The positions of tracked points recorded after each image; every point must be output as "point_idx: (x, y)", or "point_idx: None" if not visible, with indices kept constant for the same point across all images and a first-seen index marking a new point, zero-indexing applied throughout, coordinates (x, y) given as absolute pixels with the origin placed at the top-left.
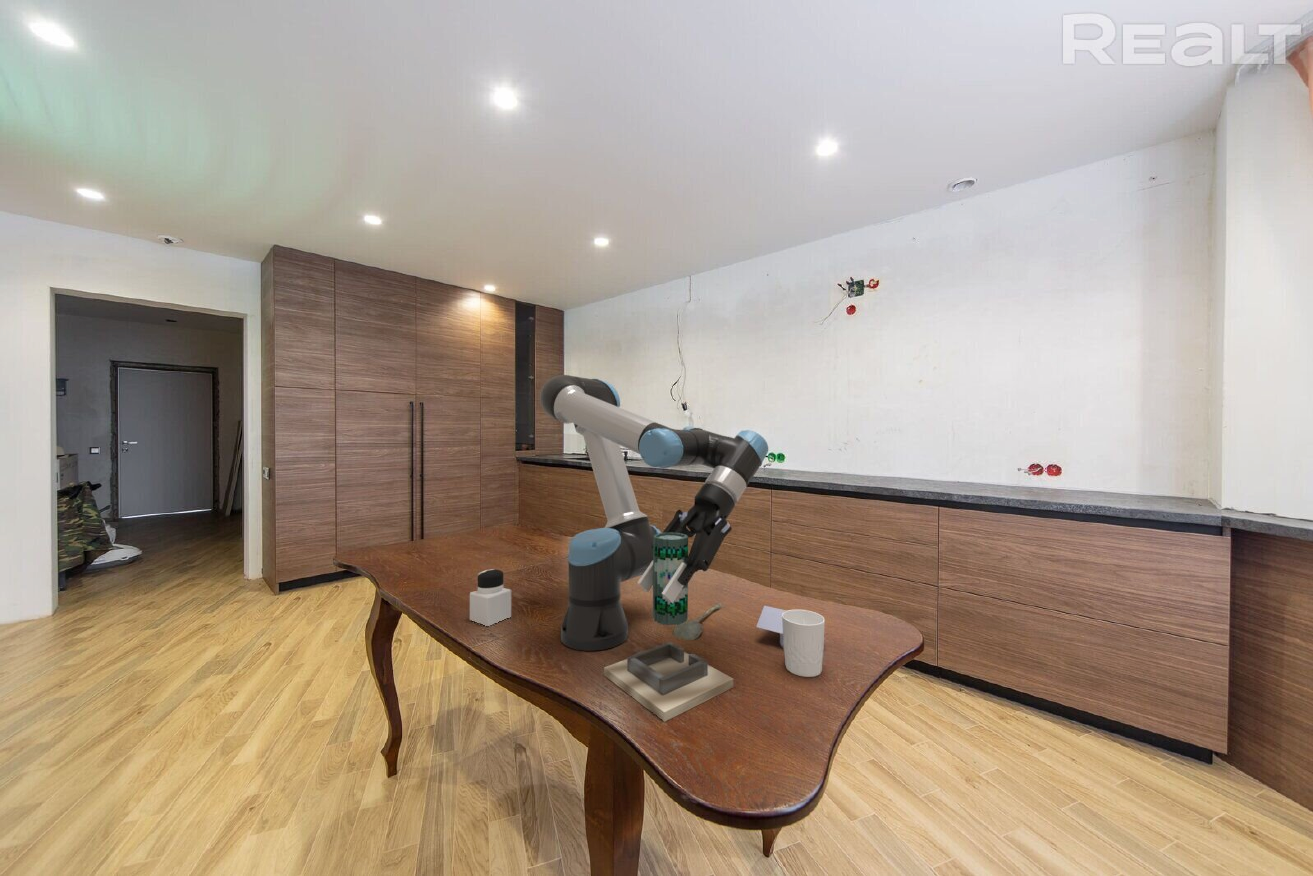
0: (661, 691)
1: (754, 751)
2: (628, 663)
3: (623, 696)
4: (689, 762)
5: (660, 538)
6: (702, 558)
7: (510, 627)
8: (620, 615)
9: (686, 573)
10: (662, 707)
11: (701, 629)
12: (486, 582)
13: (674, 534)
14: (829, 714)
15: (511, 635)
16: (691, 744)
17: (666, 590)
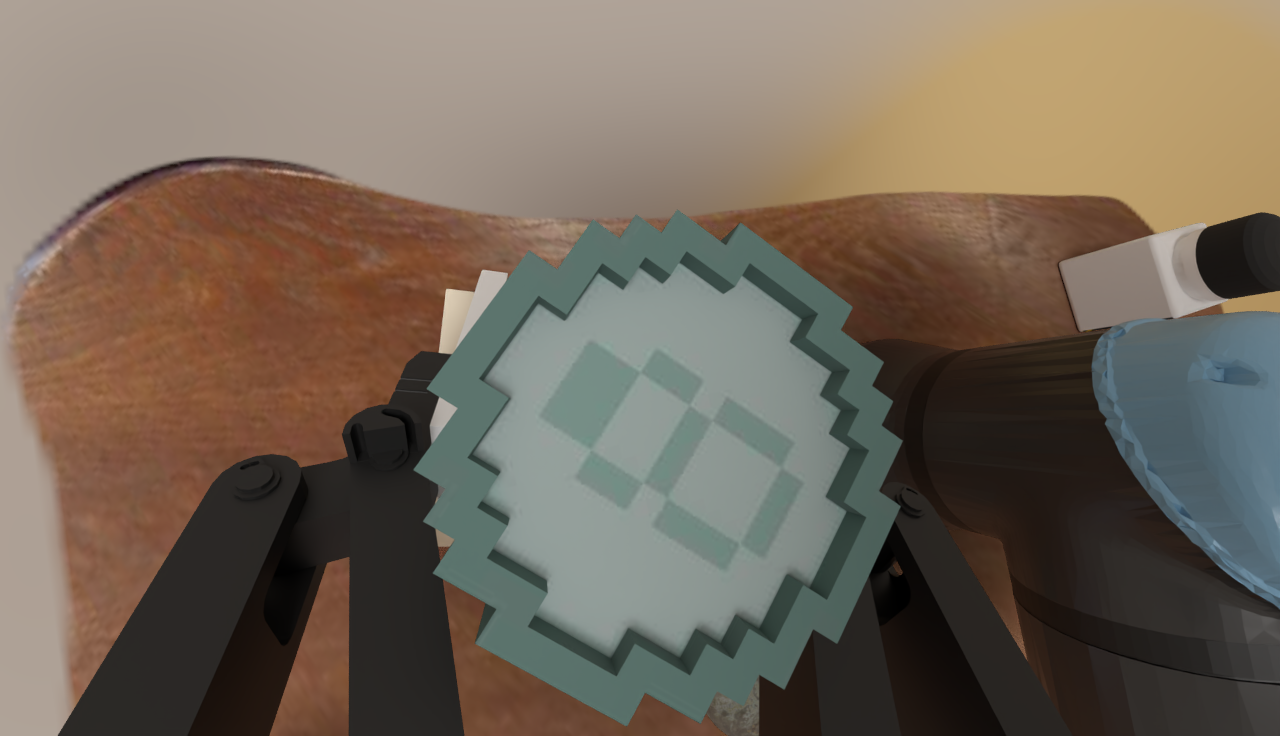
0: None
1: (205, 362)
2: None
3: None
4: (305, 233)
5: (669, 242)
6: (197, 516)
7: (1031, 302)
8: None
9: (397, 398)
10: (464, 299)
11: (707, 710)
12: (1225, 228)
13: (774, 618)
14: None
15: (993, 281)
16: (344, 279)
17: (480, 282)
